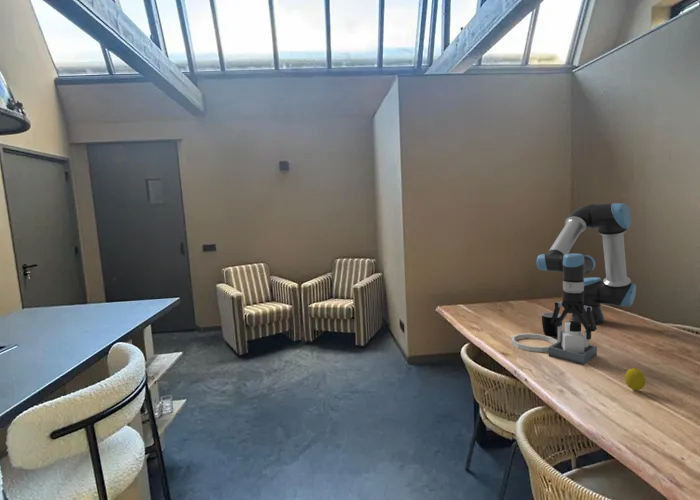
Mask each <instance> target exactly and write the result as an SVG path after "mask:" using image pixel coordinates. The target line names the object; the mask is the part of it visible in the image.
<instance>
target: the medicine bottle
mask: <svg viewBox="0 0 700 500" xmlns="http://www.w3.org/2000/svg"><path fill="white" fill-rule="evenodd" d="M562 348H563V349H564V350H566V351H571V352H575V353H584V333H582V323H579V322H577V321H573V320H567V321H565V322H564V330H562Z"/></svg>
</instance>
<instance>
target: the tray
mask: <svg viewBox="0 0 700 500" xmlns="http://www.w3.org/2000/svg"><path fill="white" fill-rule="evenodd" d="M549 346H550V347H549V351H548V357H550V358H554V359H558V360H562V361H566V362H570V363H574V364H578V365H581V366H582V365H583V366H585V365H587V364H588V363H589V362H591V361H592V360H593V359H595V358H596V357H598V356H597V355H598V346H597V345H591V344H589V346H588V347H586V348H585V347H584V353H575V352H571V351H566V350H564V349H563V348H562V341H560V342H557V343H555V344H553V343H552V345H549Z"/></svg>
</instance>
